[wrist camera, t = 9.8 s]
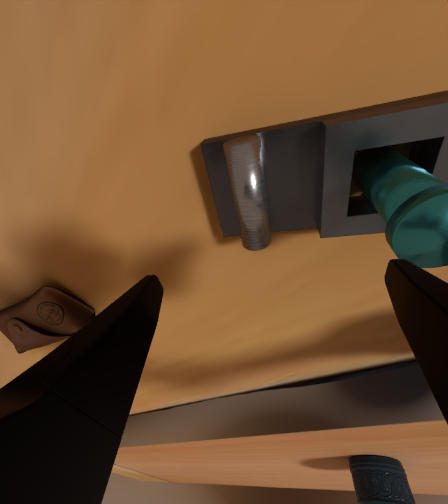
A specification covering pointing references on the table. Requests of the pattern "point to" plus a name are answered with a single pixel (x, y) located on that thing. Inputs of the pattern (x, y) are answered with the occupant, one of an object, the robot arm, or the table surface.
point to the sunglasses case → (44, 319)
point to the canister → (380, 480)
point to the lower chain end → (277, 175)
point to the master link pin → (406, 204)
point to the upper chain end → (371, 136)
